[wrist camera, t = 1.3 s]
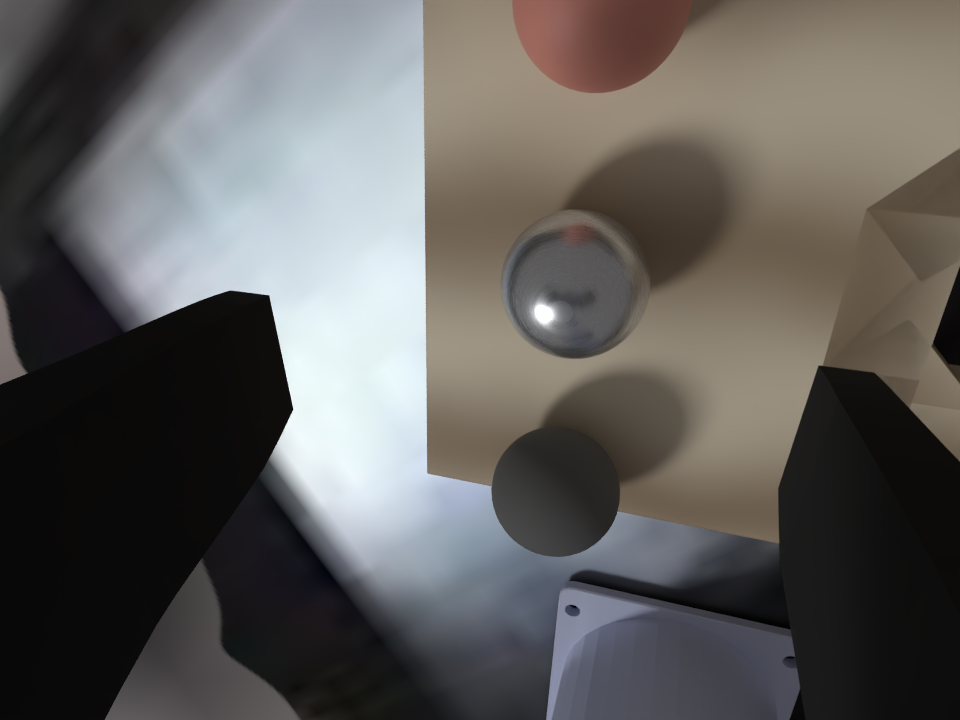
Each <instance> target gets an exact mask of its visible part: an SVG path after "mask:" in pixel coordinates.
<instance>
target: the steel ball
mask: <svg viewBox="0 0 960 720" xmlns="http://www.w3.org/2000/svg"><path fill="white" fill-rule="evenodd" d="M650 284H651V281H650V271H649V266H648V262H647V259H646V256H645V254H644V252H643V250H642V248H641V246H640V244H639V243H638V241H637V240H636V238H635V237H634V236H633V235H632V234H631V232H630V231H629V230H628V229H627V228H625V227H624V226H623V225H622V224H620V223H619V222H617V221H616V220H614V219H613V218H611V217H609V216H606V215H604V214H602V213H598V212H595V211H590V210H584V209H571V210H563V211H559V212H555V213H552V214H549V215H546V216H544V217H542V218H540V219H538V220H537V221H535V222H534V223H532V224H531V225H530V226H528V227H527V228H526V229H525V230H524V231H523V232H522V233H521V234H520V235H519V236H518V237H517V239H516V240H515V241H514V243H513V244H512V246H511V248H510V249H509V251H508V253H507V255H506V258H505V260H504V264H503V267H502V272H501V280H500V292H501V298H502V303H503V307H504V310H505V313H506V315H507V317H508V319H509V321H510V323H511V324H512V326H513V327H514V329H515V330H516V331H517V333H518V334H519V335H520V336H521V337H522V338H523V339H524V340H525V341H526V342H528V343H529V344H530V345H531V346H533V347H535V348H536V349H538V350H540V351H542V352H544V353H546V354H549V355H552V356H555V357H560V358H567V359H583V358H590V357H594V356H597V355H600V354H602V353H605V352H607V351H609V350H611V349H613V348H614V347H616V346H618V345H619V344H620V343H622V342H623V341H624V340H625V339H626V338H627V337H628V336H629V335H630V334H631V333H632V332H633V331H634V329H635V328H636V327H637V325H638V324H639V322H640V321H641V319H642V317H643V315H644V312H645V310H646V307H647V304H648V300H649V296H650Z"/></svg>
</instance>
